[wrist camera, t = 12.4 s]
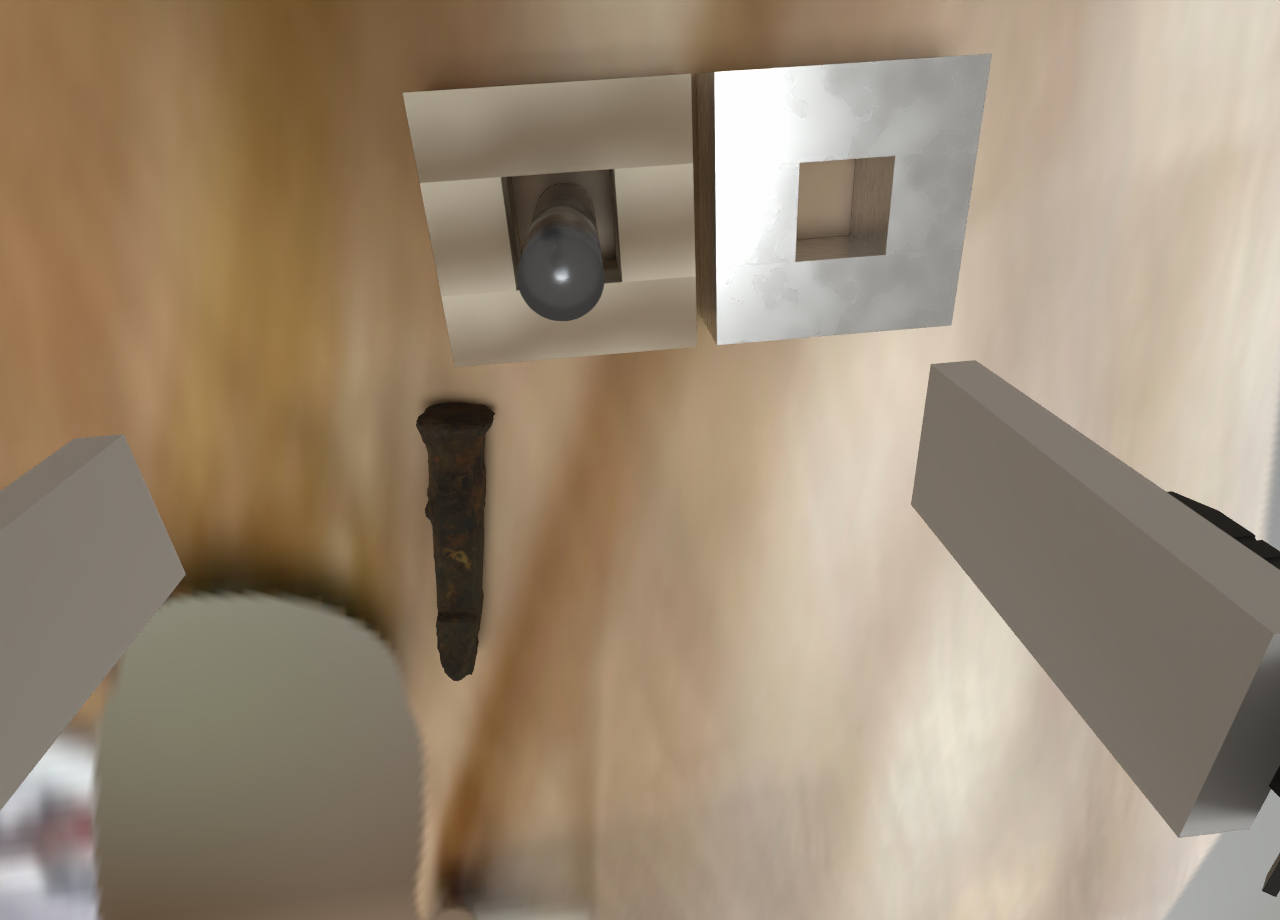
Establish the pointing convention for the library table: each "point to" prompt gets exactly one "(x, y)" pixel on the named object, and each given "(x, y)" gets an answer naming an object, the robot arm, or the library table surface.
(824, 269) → the socket block
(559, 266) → the dark grey rounded rod
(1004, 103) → the library table surface
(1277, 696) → the robot arm
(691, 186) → the beige block with hole
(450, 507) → the hand tool
